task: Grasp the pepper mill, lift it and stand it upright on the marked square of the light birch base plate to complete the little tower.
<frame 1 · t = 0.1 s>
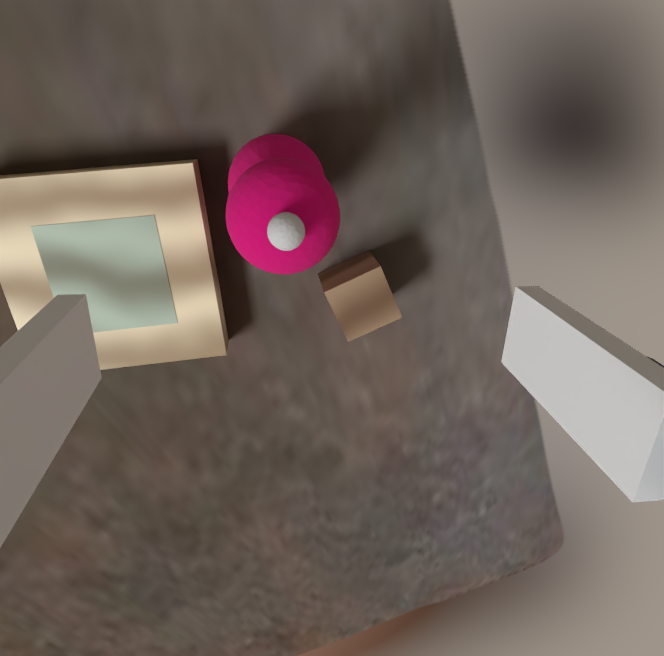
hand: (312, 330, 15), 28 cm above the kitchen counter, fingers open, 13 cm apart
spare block: (353, 285, 45), on the kitchen counter
pepper mill: (275, 178, 40), on the kitchen counter
base plate: (118, 266, 41), on the kitchen counter
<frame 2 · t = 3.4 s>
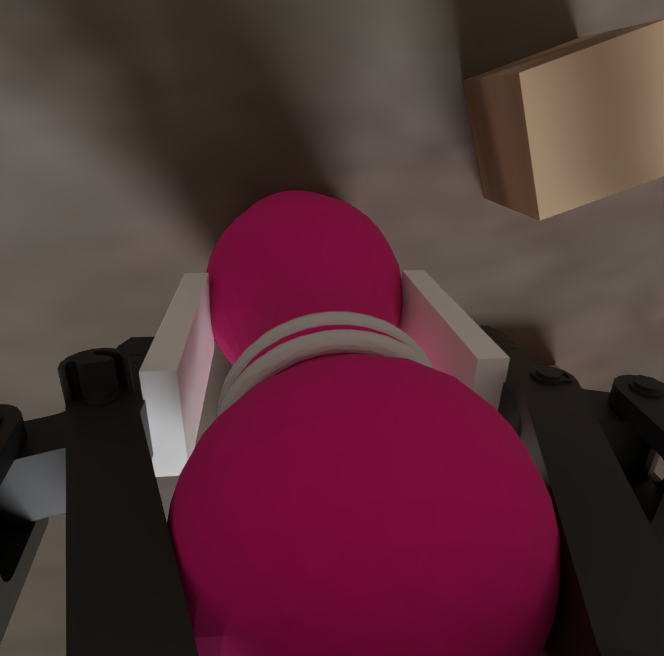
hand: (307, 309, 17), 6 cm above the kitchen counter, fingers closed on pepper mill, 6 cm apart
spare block: (528, 122, 21), on the kitchen counter
pepper mill: (296, 259, 22), on the kitchen counter, touching gripper
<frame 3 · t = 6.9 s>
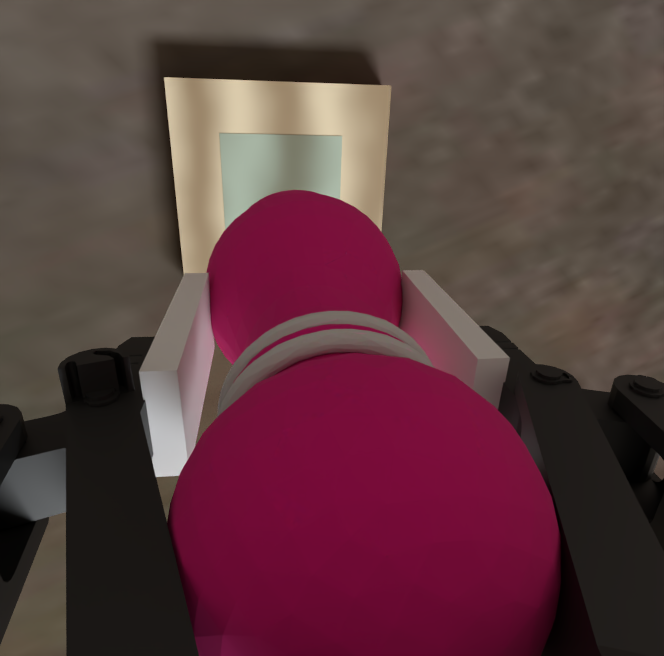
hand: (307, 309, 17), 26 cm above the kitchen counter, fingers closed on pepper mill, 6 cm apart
pepper mill: (296, 258, 22), point 20 cm above the kitchen counter, touching gripper
base plate: (281, 191, 41), on the kitchen counter
when the fingers open (10 cm above the kitchen counter, at t = 10.5 s): pepper mill drops 1 cm, resting on base plate.
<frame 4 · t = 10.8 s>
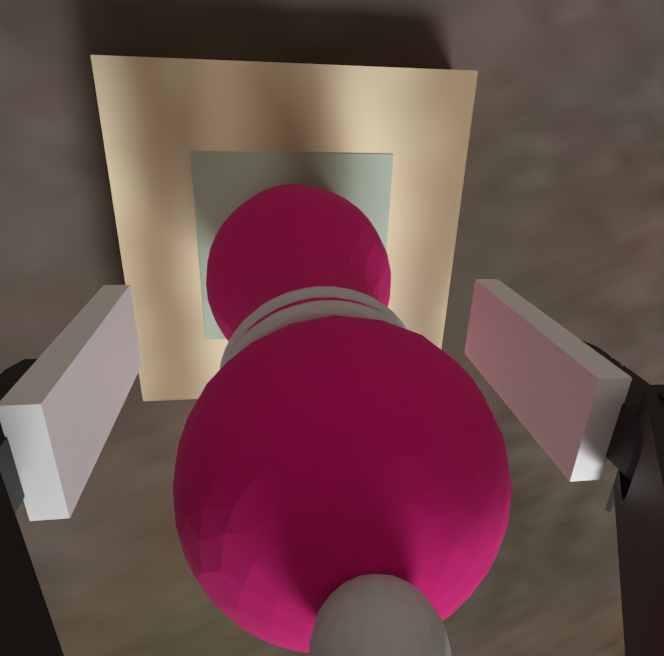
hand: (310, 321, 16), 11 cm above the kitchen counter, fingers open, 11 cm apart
pepper mill: (292, 249, 24), point 3 cm above the kitchen counter, touching base plate
base plate: (291, 236, 26), on the kitchen counter
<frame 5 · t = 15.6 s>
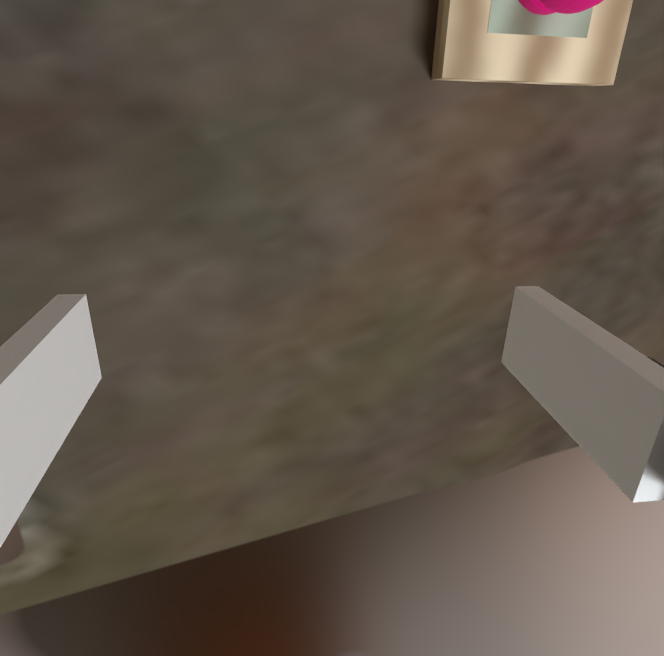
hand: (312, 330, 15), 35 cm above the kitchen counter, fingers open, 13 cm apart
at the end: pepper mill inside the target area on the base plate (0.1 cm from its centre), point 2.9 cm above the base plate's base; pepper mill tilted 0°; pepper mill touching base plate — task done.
